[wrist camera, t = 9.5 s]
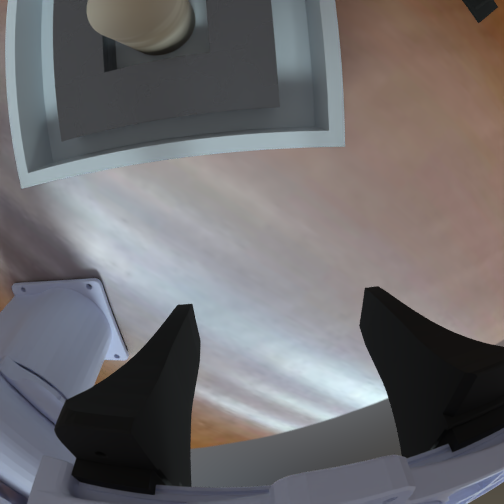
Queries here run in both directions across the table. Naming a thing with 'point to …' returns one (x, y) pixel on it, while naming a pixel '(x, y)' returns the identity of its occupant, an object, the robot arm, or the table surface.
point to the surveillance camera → (480, 8)
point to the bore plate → (162, 71)
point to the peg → (144, 23)
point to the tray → (178, 128)
